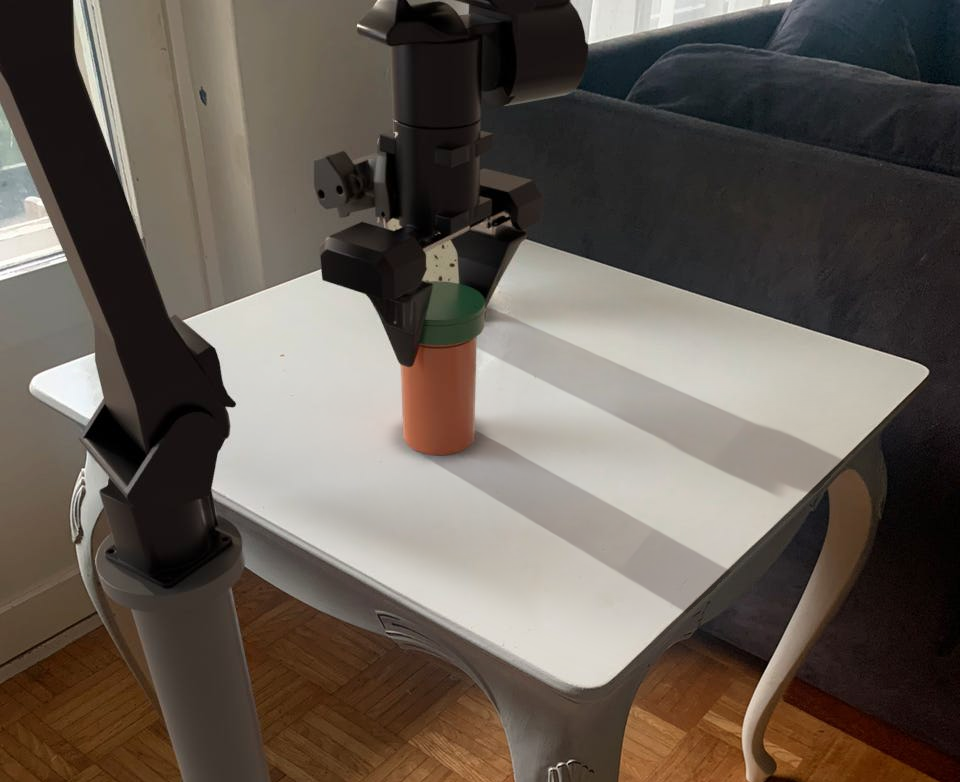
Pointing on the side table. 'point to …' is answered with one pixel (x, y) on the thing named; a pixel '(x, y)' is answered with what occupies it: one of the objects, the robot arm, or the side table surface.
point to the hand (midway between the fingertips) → (439, 345)
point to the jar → (440, 398)
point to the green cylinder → (453, 314)
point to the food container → (435, 259)
